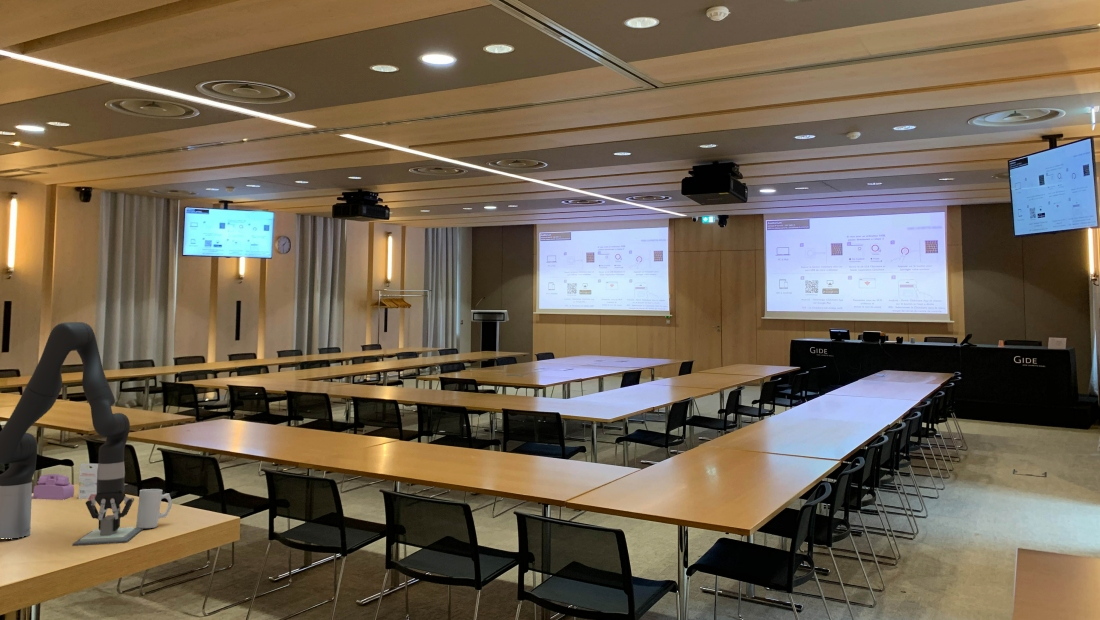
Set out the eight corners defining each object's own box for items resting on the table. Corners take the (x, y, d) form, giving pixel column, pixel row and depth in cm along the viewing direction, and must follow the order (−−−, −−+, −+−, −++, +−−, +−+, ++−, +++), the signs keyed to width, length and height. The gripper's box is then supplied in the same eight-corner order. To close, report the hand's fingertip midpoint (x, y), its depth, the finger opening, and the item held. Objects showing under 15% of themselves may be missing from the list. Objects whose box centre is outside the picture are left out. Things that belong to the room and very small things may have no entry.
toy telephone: (75, 498, 279) (76, 473, 280) (61, 502, 273) (62, 476, 274) (38, 496, 283) (39, 471, 283) (23, 500, 277) (24, 474, 277)
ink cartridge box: (106, 499, 278) (108, 461, 279) (96, 502, 273) (98, 463, 274) (88, 498, 279) (89, 461, 280) (77, 501, 274) (78, 463, 275)
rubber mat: (72, 545, 215) (72, 543, 215) (91, 532, 230) (92, 530, 230) (126, 542, 219) (126, 540, 219) (142, 529, 233) (142, 528, 233)
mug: (135, 528, 231) (139, 491, 233) (135, 525, 237) (139, 489, 239) (169, 527, 236) (173, 491, 238) (168, 524, 242) (172, 488, 244)
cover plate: (80, 541, 217) (80, 523, 217) (95, 531, 228) (95, 513, 229) (123, 539, 220) (123, 520, 220) (136, 529, 231) (136, 511, 232)
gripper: (81, 479, 220) (79, 535, 219) (131, 477, 223) (129, 532, 222) (90, 475, 227) (89, 529, 226) (139, 473, 230) (137, 526, 229)
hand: (109, 530), depth 224 cm, fingers closed on cover plate, 3 cm apart
